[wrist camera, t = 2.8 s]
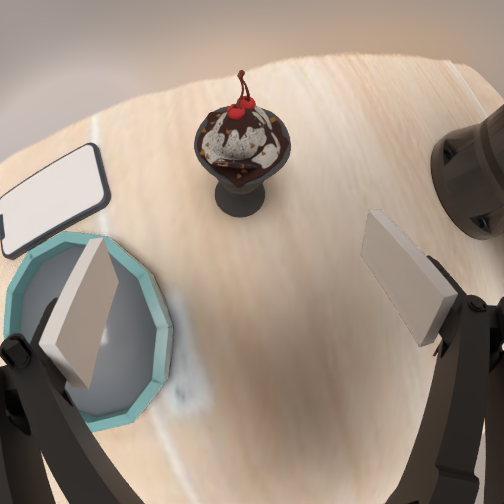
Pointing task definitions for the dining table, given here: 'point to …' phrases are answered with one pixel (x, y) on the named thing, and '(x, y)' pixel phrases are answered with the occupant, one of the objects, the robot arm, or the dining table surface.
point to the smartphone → (53, 200)
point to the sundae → (242, 152)
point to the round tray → (115, 332)
